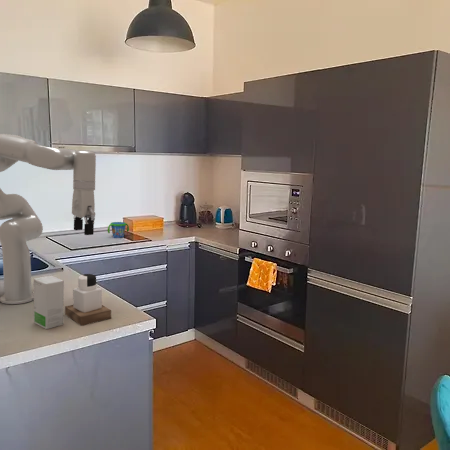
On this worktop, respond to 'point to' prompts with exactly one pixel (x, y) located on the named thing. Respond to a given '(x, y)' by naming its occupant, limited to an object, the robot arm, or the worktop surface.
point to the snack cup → (118, 229)
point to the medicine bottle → (87, 294)
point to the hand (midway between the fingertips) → (83, 232)
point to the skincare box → (48, 301)
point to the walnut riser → (87, 315)
